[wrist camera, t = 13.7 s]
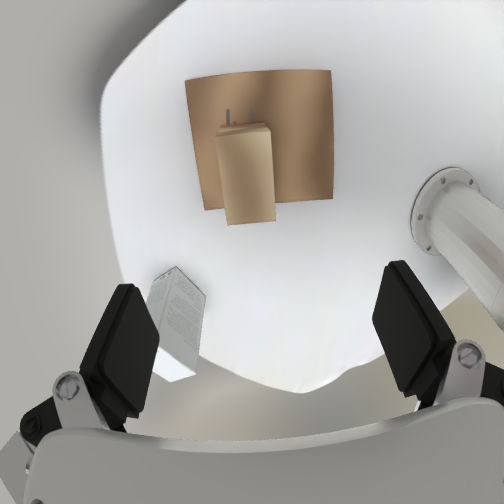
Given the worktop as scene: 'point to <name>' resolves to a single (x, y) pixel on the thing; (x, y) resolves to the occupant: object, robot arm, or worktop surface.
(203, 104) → the brown flat square slab
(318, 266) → the worktop surface
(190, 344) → the skincare box
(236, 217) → the block
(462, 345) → the robot arm
